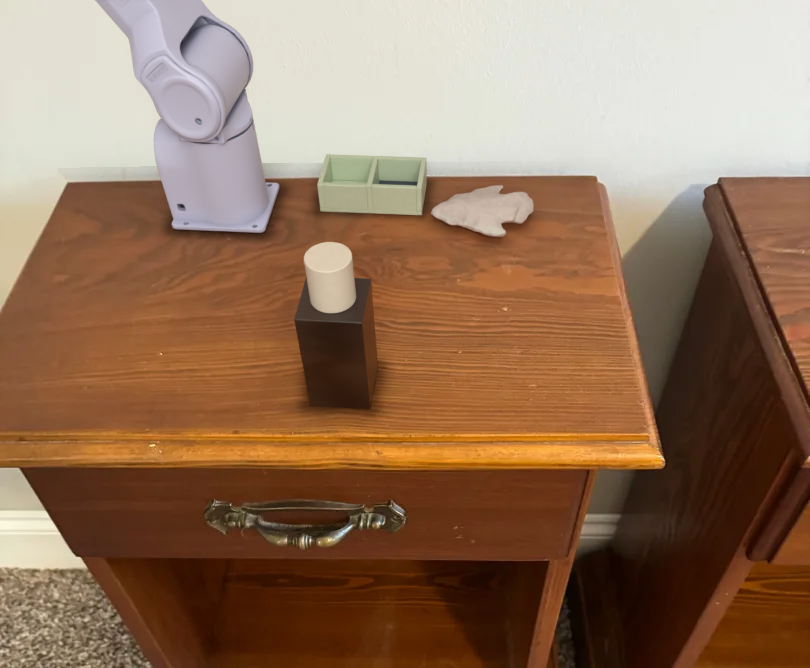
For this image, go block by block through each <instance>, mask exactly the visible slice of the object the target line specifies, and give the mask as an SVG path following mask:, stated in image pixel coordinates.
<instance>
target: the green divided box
mask: <svg viewBox="0 0 810 668" xmlns="http://www.w3.org/2000/svg"><path fill="white" fill-rule="evenodd" d="M427 159H428V158H427V157H422V156H421V157H419V156H394V155H393V156H389V155H388V156H387V155H357V154H331V153H329V154H325V157H324V160H323V164H322V167H321V170H320V173H319V174H320V175H319V177H318V180H317V184H316V188H317V194H318V195H317V196H318V203H319V210H320V212H327V213H351V214H353V213H354V214H375V215H376V214H379V215H380V214H381V215H402V216H405V215H406V216H422V215H423V210H424V203H425V198H426V192H427V185H428V182H427V180H428V176H427V175H428V173H427V171H428V169H427V164H428V160H427Z"/></svg>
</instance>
